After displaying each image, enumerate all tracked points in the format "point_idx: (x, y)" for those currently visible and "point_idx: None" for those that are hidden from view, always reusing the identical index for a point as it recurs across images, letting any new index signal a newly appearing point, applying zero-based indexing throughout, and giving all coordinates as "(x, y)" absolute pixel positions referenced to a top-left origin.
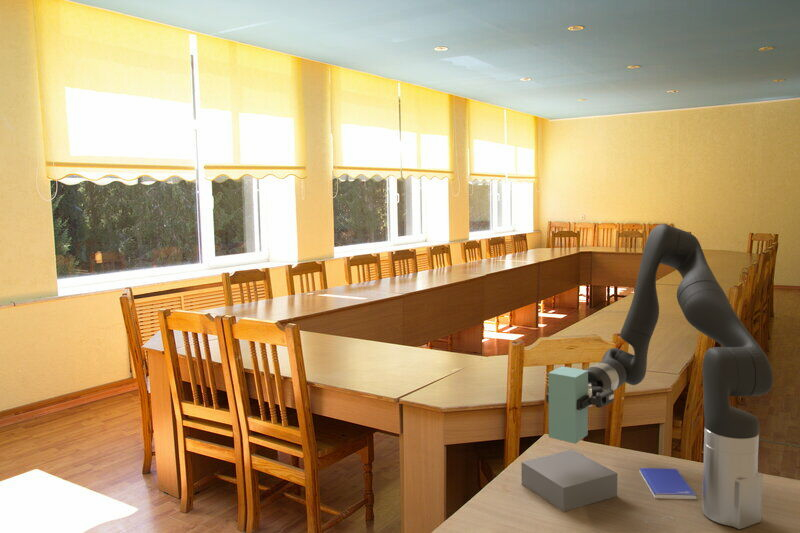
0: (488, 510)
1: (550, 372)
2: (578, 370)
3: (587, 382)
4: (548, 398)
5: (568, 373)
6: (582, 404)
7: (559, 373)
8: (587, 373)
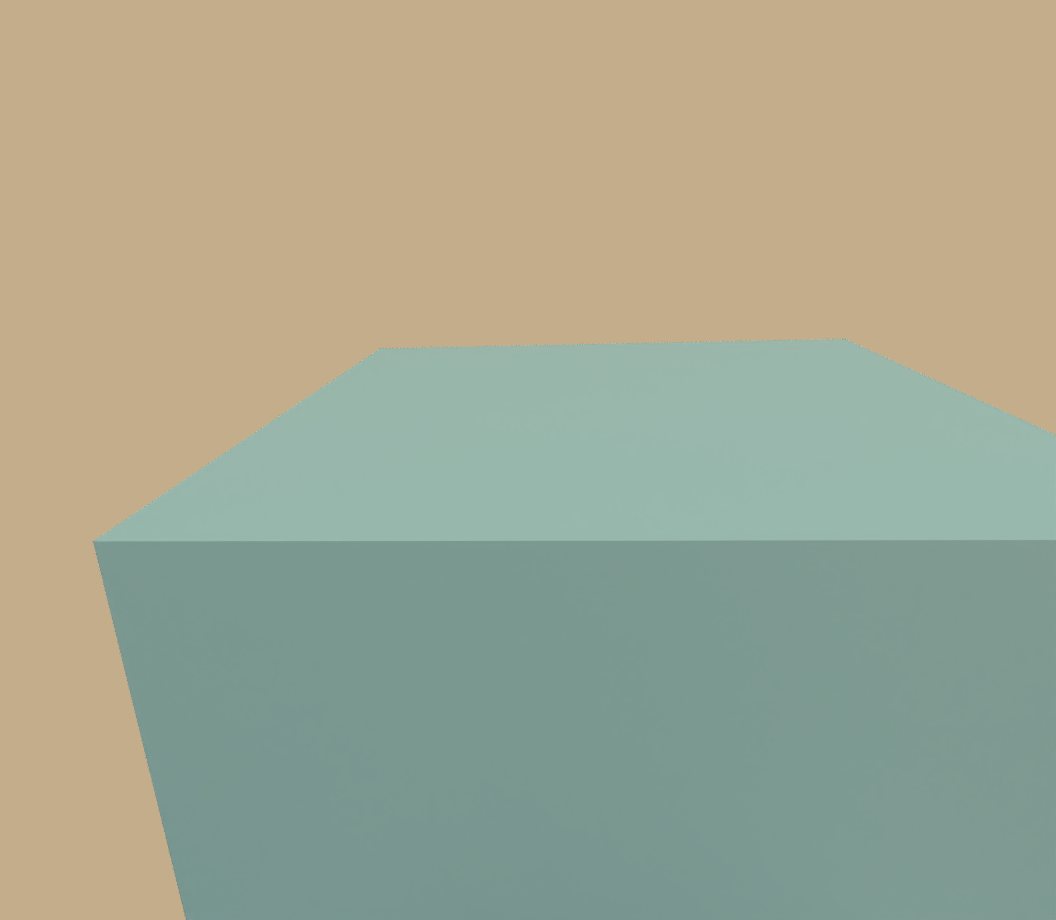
0: None
1: (839, 346)
2: (432, 478)
3: (196, 866)
4: None
5: (555, 371)
6: None
7: (684, 351)
8: (140, 604)
